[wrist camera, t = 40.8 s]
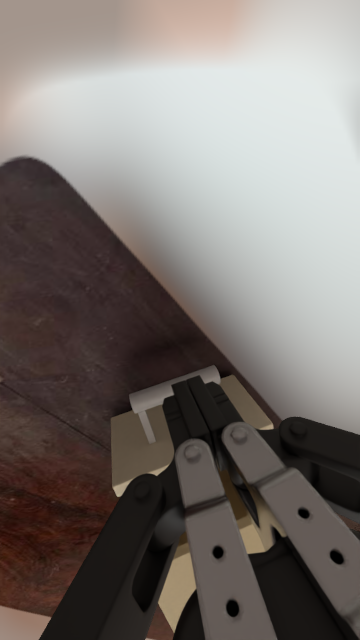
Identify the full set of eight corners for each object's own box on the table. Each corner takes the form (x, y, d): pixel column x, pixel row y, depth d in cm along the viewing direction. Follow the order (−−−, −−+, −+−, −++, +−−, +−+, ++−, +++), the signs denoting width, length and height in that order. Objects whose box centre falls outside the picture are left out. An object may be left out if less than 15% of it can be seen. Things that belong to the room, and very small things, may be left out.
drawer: (92, 376, 24) (87, 438, 17) (226, 332, 25) (268, 372, 19) (149, 508, 31) (161, 585, 25) (248, 467, 33) (283, 529, 27)
